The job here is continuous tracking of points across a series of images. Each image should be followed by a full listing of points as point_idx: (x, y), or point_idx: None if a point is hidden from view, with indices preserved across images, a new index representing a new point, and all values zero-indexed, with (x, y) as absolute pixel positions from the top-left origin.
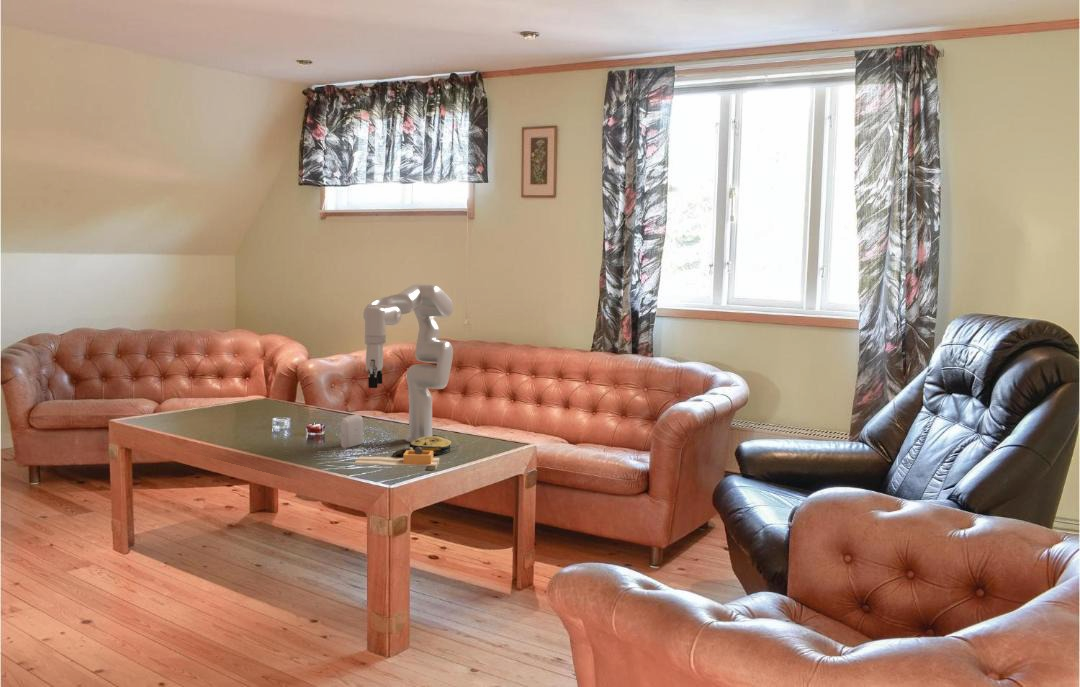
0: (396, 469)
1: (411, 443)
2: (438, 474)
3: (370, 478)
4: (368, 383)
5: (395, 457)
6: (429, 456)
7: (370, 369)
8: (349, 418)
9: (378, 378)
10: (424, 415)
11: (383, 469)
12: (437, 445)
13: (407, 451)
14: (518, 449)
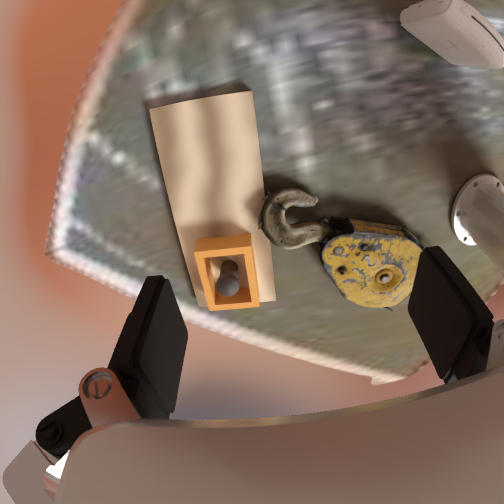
0: None
1: (338, 239)
2: None
3: (85, 192)
4: (135, 303)
5: (259, 201)
6: (209, 306)
7: (22, 464)
8: (464, 21)
9: (433, 320)
10: (497, 261)
11: None
12: (349, 291)
13: (237, 252)
14: (376, 376)
